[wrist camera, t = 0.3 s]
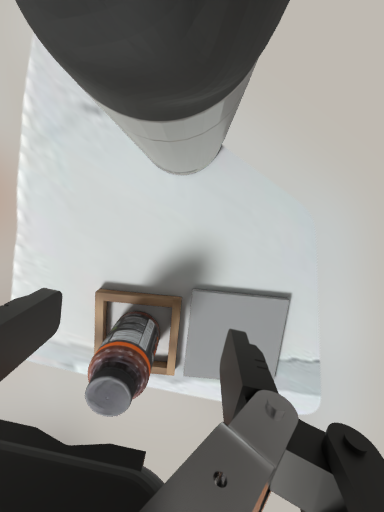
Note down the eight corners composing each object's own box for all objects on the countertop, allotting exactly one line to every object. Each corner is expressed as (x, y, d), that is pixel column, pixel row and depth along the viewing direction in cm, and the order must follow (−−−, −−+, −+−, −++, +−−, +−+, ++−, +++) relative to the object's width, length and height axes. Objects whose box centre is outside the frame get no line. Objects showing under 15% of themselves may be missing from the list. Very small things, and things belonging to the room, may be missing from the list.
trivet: (192, 288, 30) (192, 290, 29) (287, 298, 30) (289, 300, 29) (183, 371, 32) (183, 375, 31) (271, 380, 32) (272, 384, 31)
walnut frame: (99, 288, 30) (95, 292, 29) (181, 296, 30) (181, 300, 29) (97, 361, 32) (94, 367, 31) (174, 369, 32) (174, 375, 31)
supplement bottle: (152, 356, 32) (130, 436, 21) (110, 342, 31) (64, 416, 20) (167, 318, 31) (151, 381, 20) (123, 303, 30) (82, 358, 19)
